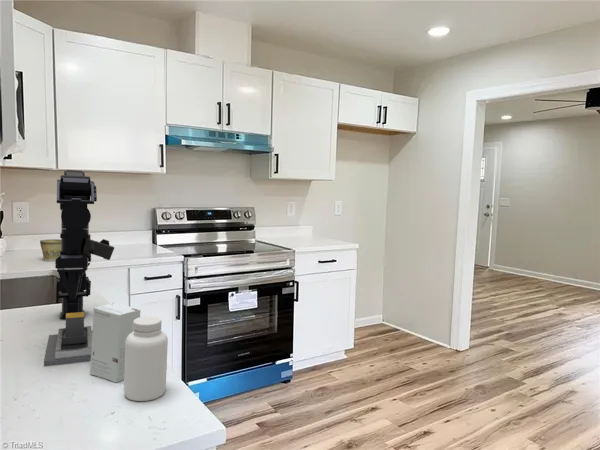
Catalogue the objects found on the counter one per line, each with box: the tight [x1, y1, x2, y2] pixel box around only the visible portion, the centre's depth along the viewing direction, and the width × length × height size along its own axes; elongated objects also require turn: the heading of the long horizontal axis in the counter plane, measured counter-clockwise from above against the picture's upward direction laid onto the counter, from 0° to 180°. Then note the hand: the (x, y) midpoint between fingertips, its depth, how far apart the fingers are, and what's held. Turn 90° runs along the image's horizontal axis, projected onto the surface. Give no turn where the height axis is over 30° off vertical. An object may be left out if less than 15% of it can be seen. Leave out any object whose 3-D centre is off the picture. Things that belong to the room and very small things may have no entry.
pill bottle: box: [123, 315, 169, 402], centre depth 87 cm, size 8×8×15 cm
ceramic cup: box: [39, 238, 61, 263], centre depth 217 cm, size 13×10×10 cm
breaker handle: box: [63, 311, 86, 345], centre depth 109 cm, size 4×5×7 cm
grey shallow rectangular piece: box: [43, 325, 93, 368], centre depth 108 cm, size 18×12×3 cm, turn 26°
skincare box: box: [89, 302, 141, 383], centre depth 95 cm, size 8×6×15 cm
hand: (74, 295), depth 103 cm, fingers open, 9 cm apart
